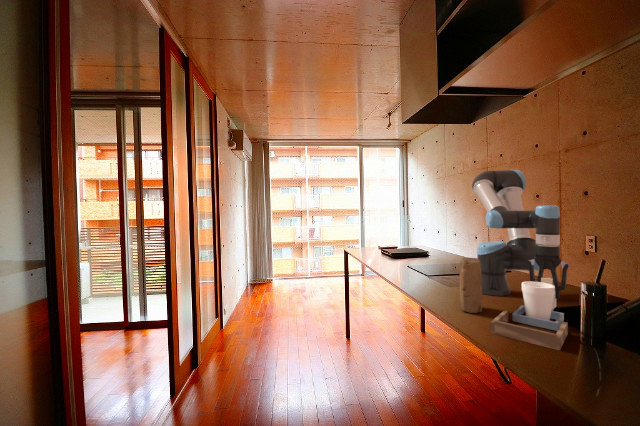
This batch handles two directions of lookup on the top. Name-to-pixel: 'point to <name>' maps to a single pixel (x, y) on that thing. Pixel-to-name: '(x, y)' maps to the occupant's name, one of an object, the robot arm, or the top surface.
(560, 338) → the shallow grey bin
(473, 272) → the block
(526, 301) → the foam cup
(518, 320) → the tray
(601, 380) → the top surface
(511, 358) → the top surface
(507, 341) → the top surface
